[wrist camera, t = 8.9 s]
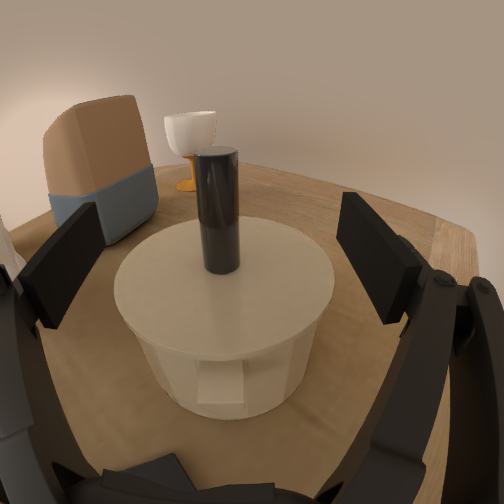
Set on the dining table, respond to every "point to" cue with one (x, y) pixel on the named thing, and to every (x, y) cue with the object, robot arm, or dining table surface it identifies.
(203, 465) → the dining table surface
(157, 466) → the trivet
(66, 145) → the two-tone home speaker
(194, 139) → the cup
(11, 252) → the decorative vase
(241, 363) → the cooker
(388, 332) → the dining table surface
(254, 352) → the cooker lid
